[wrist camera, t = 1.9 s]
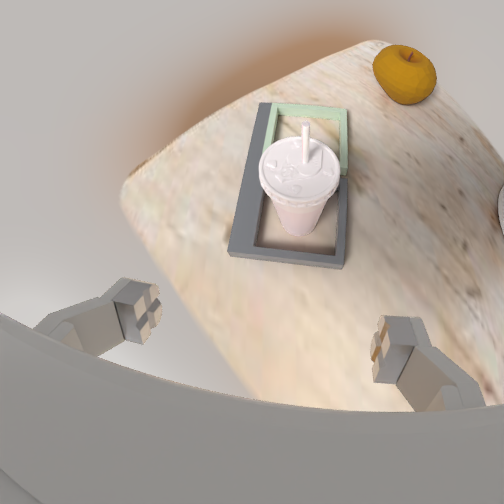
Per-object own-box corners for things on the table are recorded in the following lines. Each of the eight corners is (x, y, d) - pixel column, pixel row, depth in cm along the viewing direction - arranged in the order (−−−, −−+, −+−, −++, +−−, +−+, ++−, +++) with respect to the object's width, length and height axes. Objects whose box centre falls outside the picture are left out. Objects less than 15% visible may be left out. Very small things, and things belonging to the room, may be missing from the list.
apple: (359, 98, 36) (367, 48, 28) (381, 72, 38) (389, 27, 29) (416, 128, 33) (435, 80, 25) (431, 98, 35) (447, 54, 27)
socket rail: (345, 117, 35) (346, 109, 34) (341, 269, 29) (343, 265, 27) (261, 110, 37) (259, 102, 36) (230, 256, 31) (227, 251, 29)
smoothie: (341, 224, 30) (368, 135, 17) (293, 261, 30) (292, 185, 17) (302, 183, 33) (303, 85, 19) (255, 215, 32) (230, 124, 19)
